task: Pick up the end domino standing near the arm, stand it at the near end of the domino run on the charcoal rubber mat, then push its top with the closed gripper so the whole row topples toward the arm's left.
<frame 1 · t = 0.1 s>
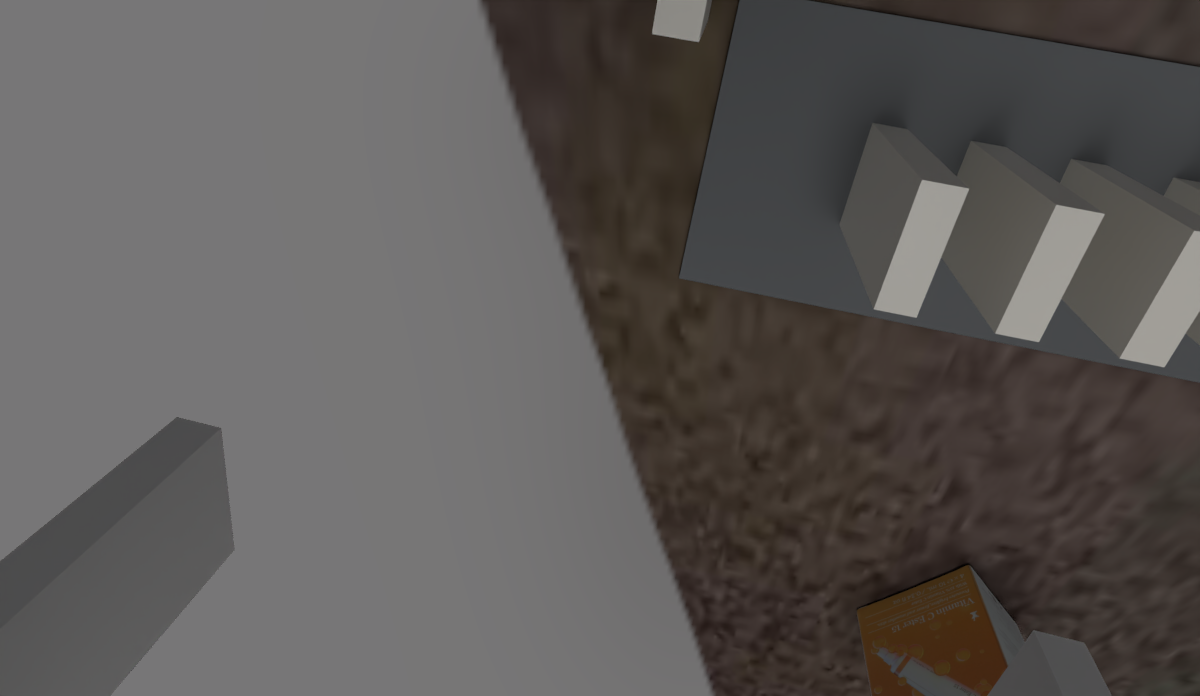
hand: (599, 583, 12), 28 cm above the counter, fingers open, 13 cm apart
domino 2: (967, 196, 34), resting on mat
domino 4: (1162, 232, 33), resting on mat
domino 3: (1063, 214, 34), resting on mat
mat: (1007, 201, 34), on the counter
small box: (933, 612, 47), on the counter
domino 1: (872, 178, 34), resting on mat
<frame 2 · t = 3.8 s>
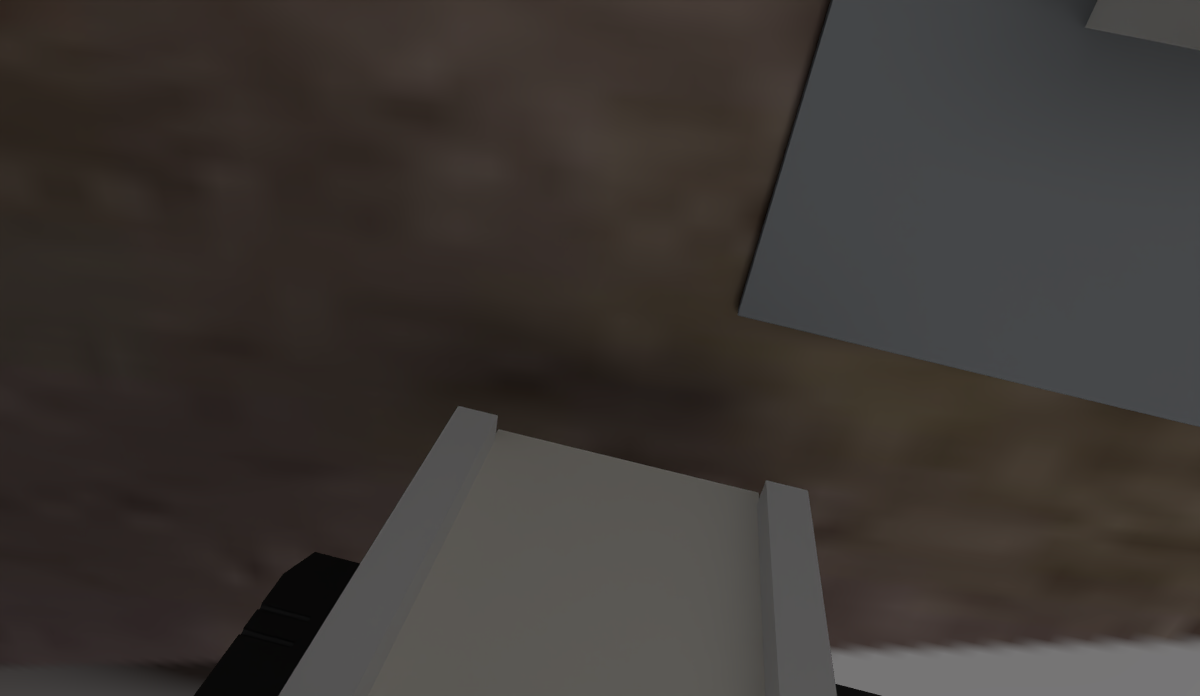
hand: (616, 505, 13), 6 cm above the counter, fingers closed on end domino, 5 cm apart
end domino: (619, 492, 14), point 5 cm above the counter, touching gripper
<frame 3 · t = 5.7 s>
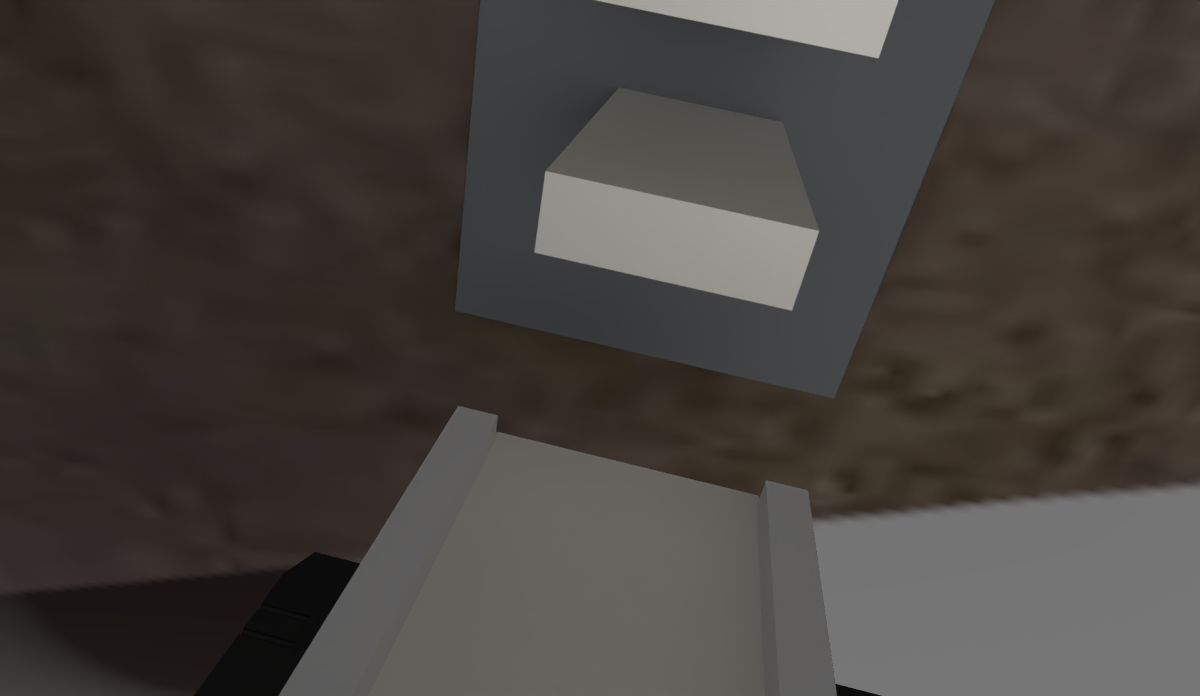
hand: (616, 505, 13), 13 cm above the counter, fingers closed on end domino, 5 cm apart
end domino: (618, 495, 14), point 12 cm above the counter, touching gripper
domino 1: (694, 131, 22), resting on mat
when the fingers open (1 cm above the counter, at t = 8.0 s): end domino stays where it is, resting on mat.
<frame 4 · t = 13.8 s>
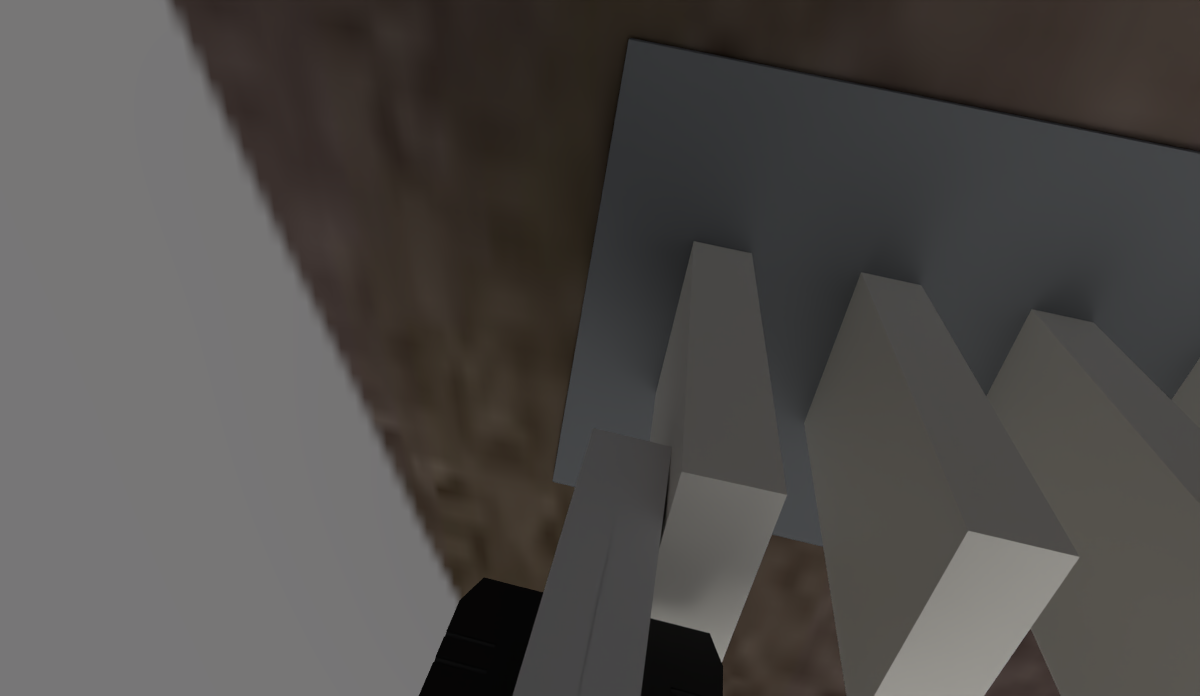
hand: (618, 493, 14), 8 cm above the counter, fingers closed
domino 2: (1019, 394, 20), resting on mat
end domino: (700, 327, 21), resting on mat, touching gripper
domino 3: (1184, 431, 20), resting on mat
mat: (1085, 402, 20), on the counter
domino 1: (859, 358, 20), resting on mat
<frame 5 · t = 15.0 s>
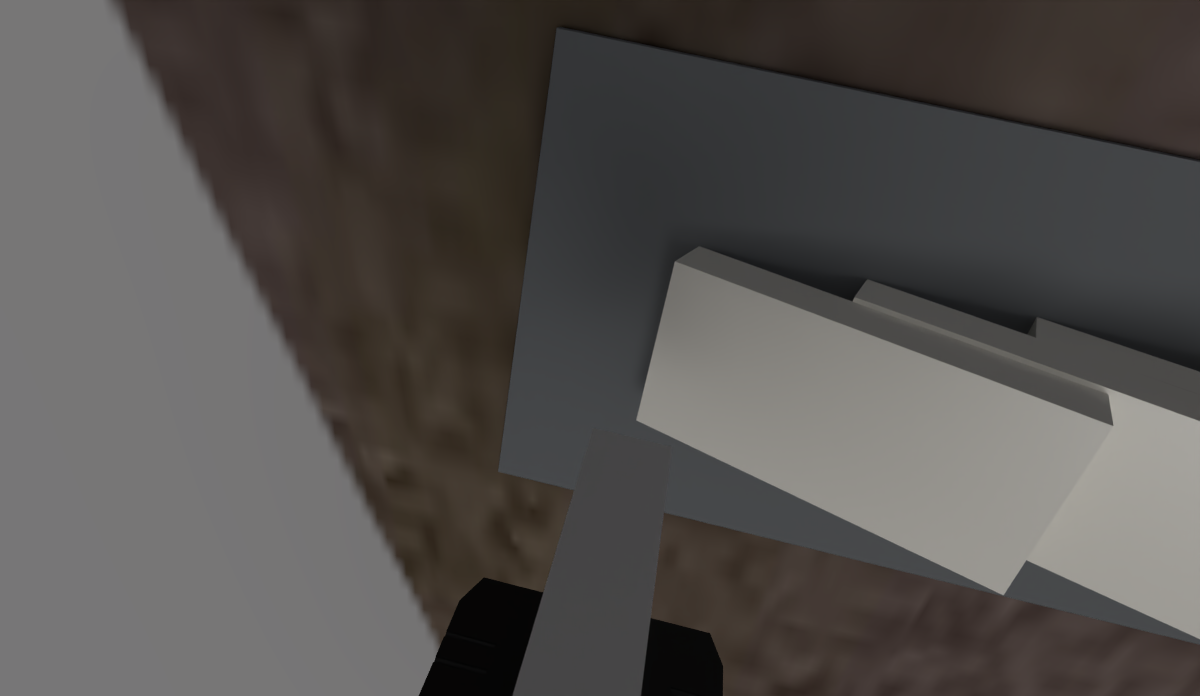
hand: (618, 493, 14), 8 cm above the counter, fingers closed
domino 2: (993, 407, 19), point 1 cm above the counter, tilted 69°, touching domino 1, domino 3, mat
end domino: (666, 335, 20), point 1 cm above the counter, tilted 69°, touching domino 1, mat
mat: (1019, 394, 20), on the counter
domino 1: (829, 369, 20), point 1 cm above the counter, tilted 69°, touching domino 2, end domino
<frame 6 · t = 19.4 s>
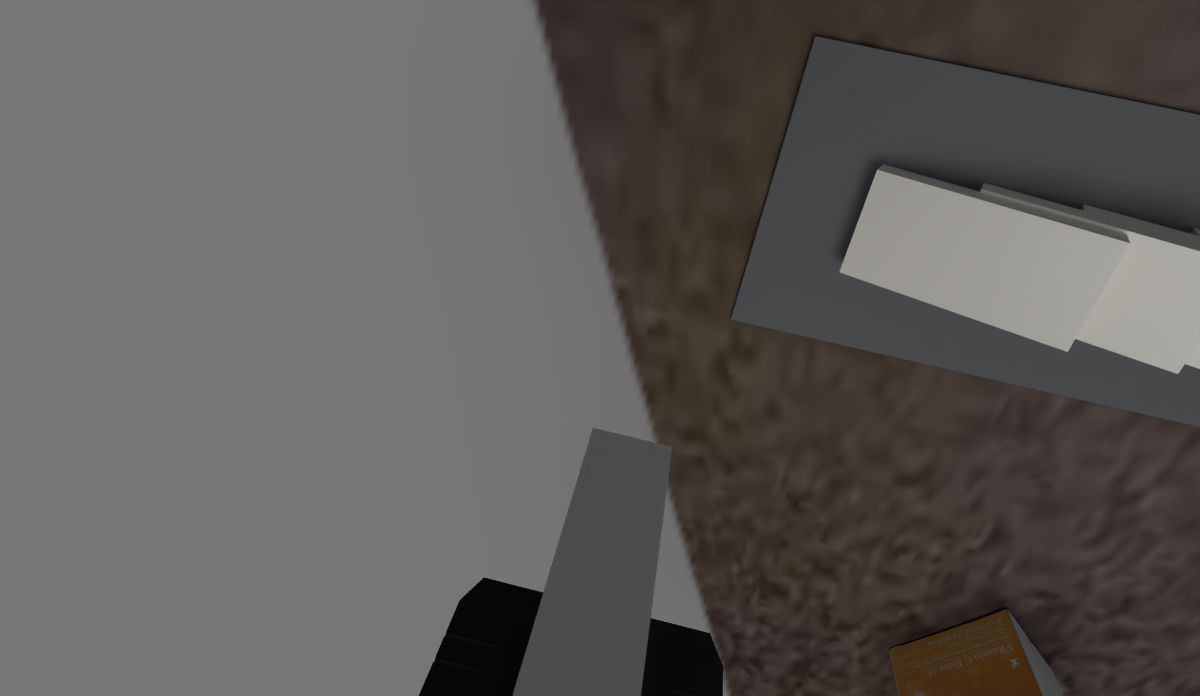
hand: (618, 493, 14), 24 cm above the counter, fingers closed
domino 2: (1056, 259, 33), point 1 cm above the counter, tilted 69°, touching domino 1, domino 3, mat
end domino: (861, 219, 34), point 1 cm above the counter, tilted 69°, touching domino 1, mat
mat: (1070, 255, 34), on the counter
small box: (966, 654, 47), on the counter
domino 1: (959, 237, 33), point 1 cm above the counter, tilted 69°, touching domino 2, end domino
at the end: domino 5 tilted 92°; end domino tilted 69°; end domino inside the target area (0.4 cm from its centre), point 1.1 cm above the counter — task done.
